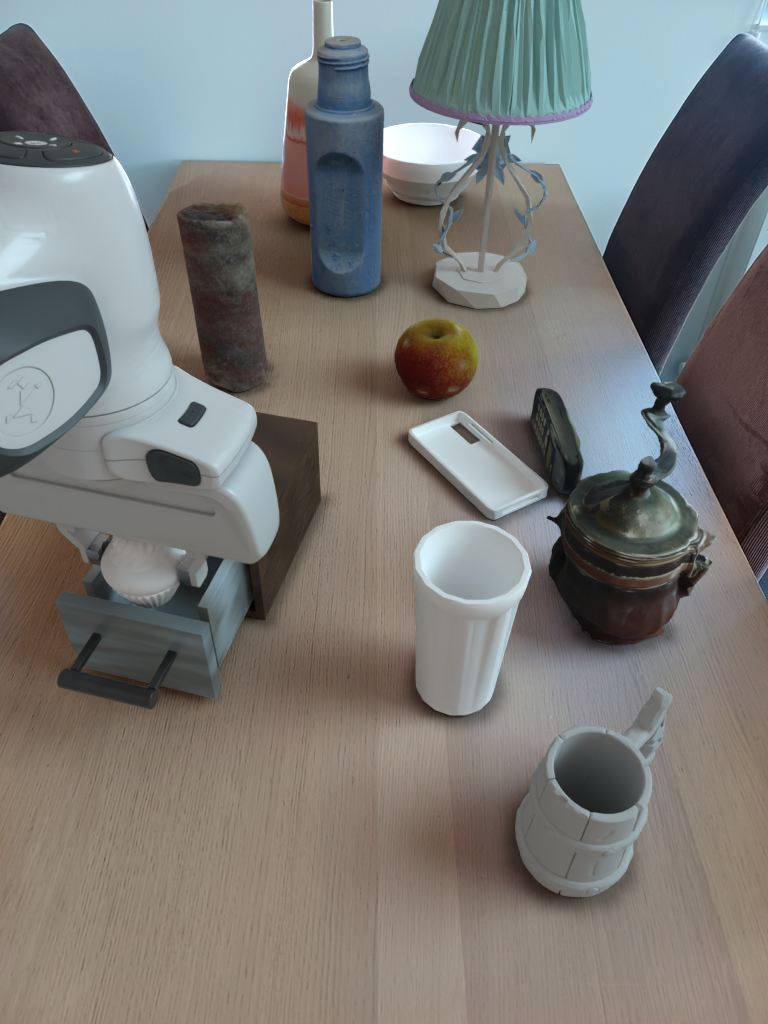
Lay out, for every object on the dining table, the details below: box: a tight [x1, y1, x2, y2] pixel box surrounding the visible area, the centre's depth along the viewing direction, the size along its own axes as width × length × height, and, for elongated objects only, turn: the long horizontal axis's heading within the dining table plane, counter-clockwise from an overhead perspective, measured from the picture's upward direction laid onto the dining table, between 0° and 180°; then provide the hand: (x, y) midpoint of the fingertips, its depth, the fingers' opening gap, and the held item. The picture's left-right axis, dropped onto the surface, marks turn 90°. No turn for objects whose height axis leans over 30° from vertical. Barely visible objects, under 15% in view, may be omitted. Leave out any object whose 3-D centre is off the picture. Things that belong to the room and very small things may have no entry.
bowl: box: [383, 122, 481, 207], centre depth 133 cm, size 19×20×8 cm
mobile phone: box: [530, 387, 585, 496], centre depth 83 cm, size 5×3×15 cm
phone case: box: [407, 410, 549, 521], centre depth 83 cm, size 7×1×15 cm
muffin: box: [101, 535, 186, 608], centre depth 58 cm, size 6×6×7 cm
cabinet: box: [245, 411, 322, 620], centre depth 71 cm, size 16×13×10 cm
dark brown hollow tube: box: [176, 202, 269, 393], centre depth 88 cm, size 8×7×20 cm
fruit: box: [393, 318, 479, 401], centre depth 91 cm, size 10×9×8 cm
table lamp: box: [408, 0, 594, 310], centre depth 98 cm, size 22×22×40 cm
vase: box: [279, 0, 334, 227], centre depth 118 cm, size 14×14×30 cm
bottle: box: [305, 35, 385, 298], centre depth 102 cm, size 10×10×30 cm
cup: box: [411, 520, 533, 716], centre depth 59 cm, size 8×8×14 cm
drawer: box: [54, 537, 254, 711], centre depth 63 cm, size 19×11×8 cm, turn 166°
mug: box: [514, 686, 673, 898], centre depth 51 cm, size 8×12×12 cm, turn 133°
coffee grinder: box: [546, 381, 717, 645], centre depth 65 cm, size 13×15×18 cm
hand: (147, 569), depth 58 cm, fingers closed on muffin, 6 cm apart
